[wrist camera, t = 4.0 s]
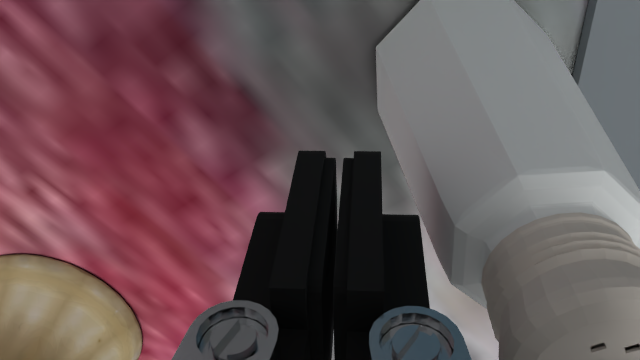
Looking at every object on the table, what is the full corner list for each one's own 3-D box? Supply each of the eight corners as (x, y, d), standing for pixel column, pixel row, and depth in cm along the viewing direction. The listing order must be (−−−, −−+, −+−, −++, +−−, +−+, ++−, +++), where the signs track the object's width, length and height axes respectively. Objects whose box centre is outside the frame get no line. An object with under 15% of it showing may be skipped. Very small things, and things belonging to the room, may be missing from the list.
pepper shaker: (567, 107, 18) (821, 422, 9) (409, 171, 19) (482, 501, 10) (520, -55, 15) (811, 152, 6) (339, 33, 17) (354, 309, 7)
